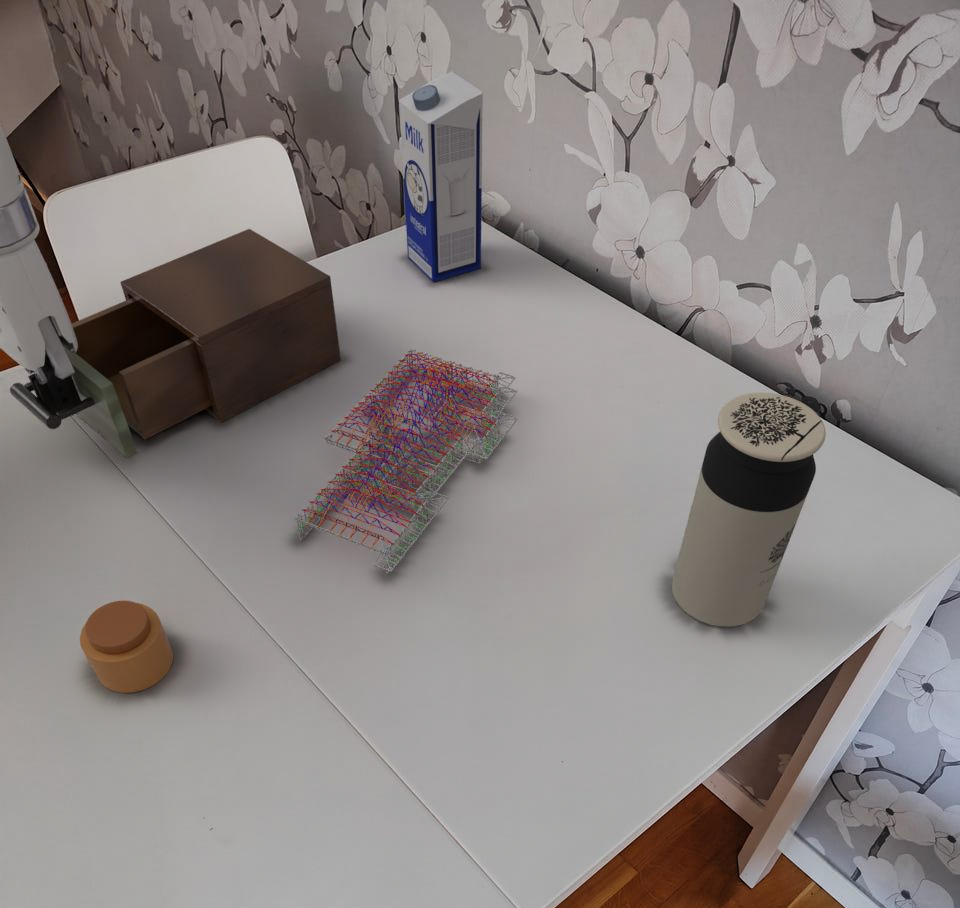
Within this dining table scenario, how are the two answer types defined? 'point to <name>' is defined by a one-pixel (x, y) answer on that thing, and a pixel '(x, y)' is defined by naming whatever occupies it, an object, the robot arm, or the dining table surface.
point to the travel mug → (746, 506)
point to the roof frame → (436, 430)
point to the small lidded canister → (126, 646)
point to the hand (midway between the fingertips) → (63, 408)
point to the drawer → (128, 376)
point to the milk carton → (443, 176)
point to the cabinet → (245, 316)
